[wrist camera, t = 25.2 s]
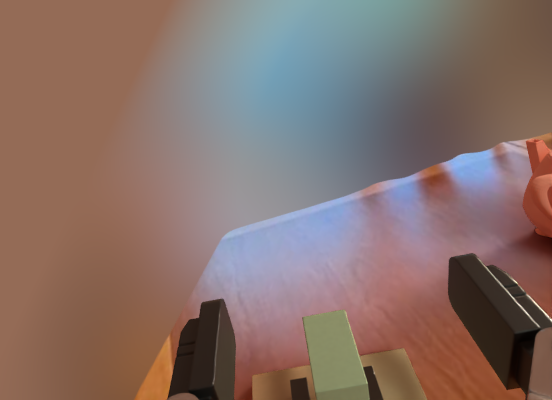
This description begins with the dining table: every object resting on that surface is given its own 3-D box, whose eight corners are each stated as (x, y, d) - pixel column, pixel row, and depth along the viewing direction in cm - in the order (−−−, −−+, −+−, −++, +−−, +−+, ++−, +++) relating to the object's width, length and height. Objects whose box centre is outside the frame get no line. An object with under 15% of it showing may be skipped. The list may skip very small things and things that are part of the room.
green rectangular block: (333, 485, 31) (314, 392, 26) (319, 404, 37) (302, 316, 32) (378, 478, 31) (367, 383, 26) (356, 397, 37) (344, 309, 32)
